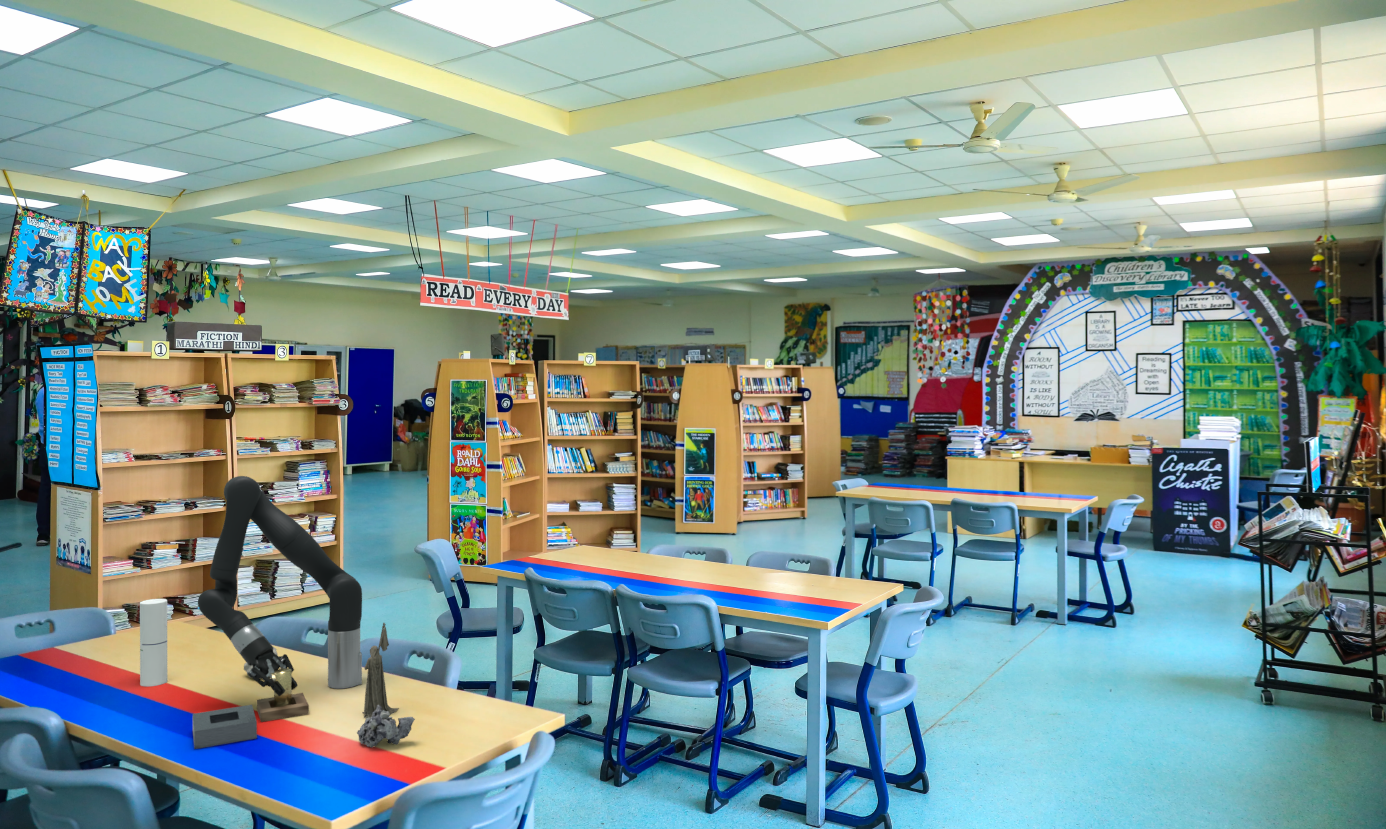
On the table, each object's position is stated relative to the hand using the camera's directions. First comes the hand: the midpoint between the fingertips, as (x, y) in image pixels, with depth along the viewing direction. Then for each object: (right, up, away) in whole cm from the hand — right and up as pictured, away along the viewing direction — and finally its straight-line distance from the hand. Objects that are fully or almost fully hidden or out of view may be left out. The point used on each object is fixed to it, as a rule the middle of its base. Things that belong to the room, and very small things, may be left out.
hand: (288, 690), depth 246 cm
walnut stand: (-2, -6, +1) cm, 6 cm away
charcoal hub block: (-9, -6, -17) cm, 20 cm away
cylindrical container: (-52, -5, +24) cm, 58 cm away
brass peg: (-2, -5, +1) cm, 6 cm away
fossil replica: (-23, -5, +32) cm, 40 cm away
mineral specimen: (+33, -7, -21) cm, 40 cm away
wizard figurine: (+25, -6, 0) cm, 26 cm away
